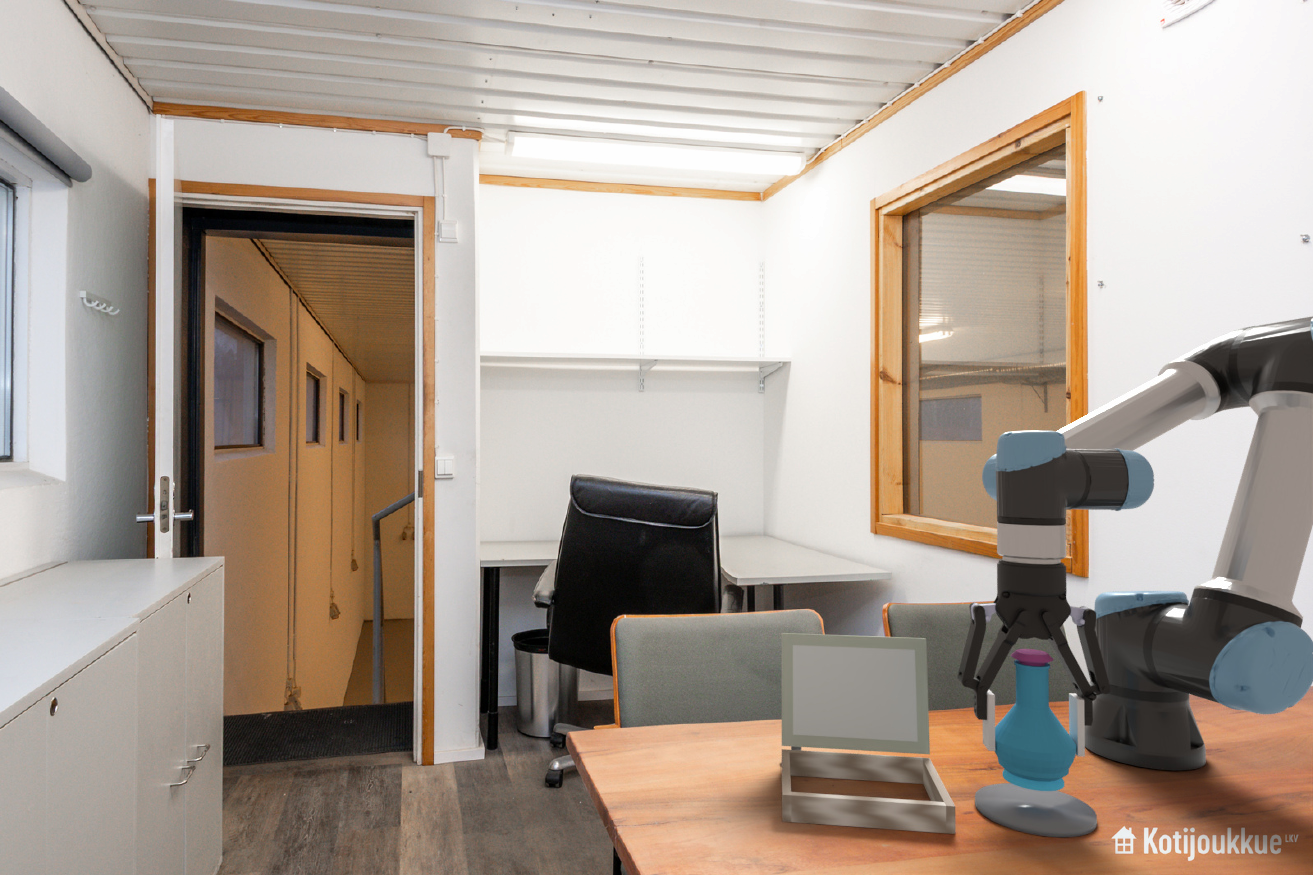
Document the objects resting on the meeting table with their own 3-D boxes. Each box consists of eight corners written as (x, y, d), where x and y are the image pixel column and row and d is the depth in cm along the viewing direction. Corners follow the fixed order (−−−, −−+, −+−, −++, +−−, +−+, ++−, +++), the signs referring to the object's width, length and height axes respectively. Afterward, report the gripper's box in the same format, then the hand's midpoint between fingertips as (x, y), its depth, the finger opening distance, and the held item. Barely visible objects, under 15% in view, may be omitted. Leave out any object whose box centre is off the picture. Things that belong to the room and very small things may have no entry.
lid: (930, 754, 102) (928, 753, 103) (926, 638, 105) (925, 638, 106) (781, 745, 105) (781, 744, 106) (781, 633, 108) (781, 632, 108)
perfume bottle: (1088, 799, 88) (1086, 663, 89) (1000, 791, 90) (999, 658, 91) (1063, 769, 97) (1062, 645, 98) (983, 762, 99) (983, 641, 100)
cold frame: (929, 781, 102) (929, 758, 103) (955, 834, 88) (955, 806, 88) (781, 772, 105) (781, 749, 105) (782, 821, 91) (782, 794, 91)
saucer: (1072, 793, 99) (1072, 787, 99) (1116, 841, 86) (1116, 834, 86) (963, 786, 101) (963, 780, 101) (991, 832, 88) (991, 825, 88)
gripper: (1115, 558, 97) (1118, 744, 96) (930, 553, 100) (930, 733, 99) (1143, 565, 89) (1146, 767, 88) (942, 560, 93) (943, 754, 92)
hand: (1032, 749), depth 94 cm, fingers closed on perfume bottle, 9 cm apart
